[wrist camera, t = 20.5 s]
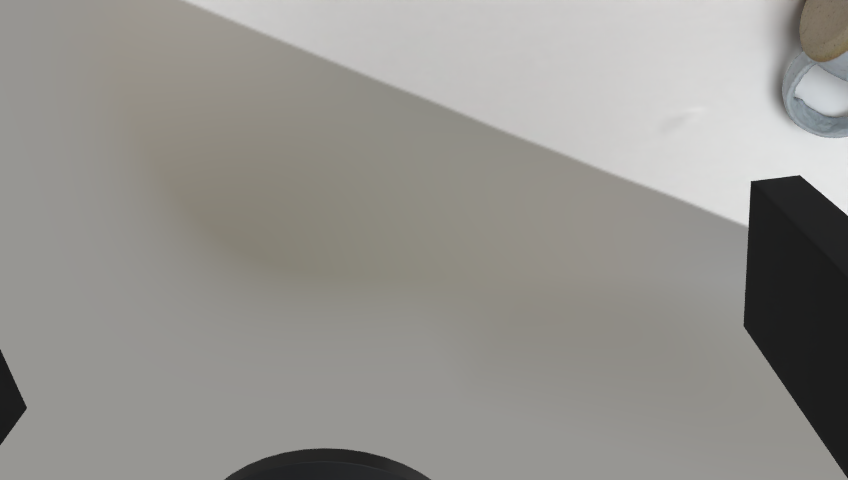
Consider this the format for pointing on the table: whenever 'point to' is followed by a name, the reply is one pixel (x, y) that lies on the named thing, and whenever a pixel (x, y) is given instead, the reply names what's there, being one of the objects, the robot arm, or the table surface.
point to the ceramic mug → (819, 62)
